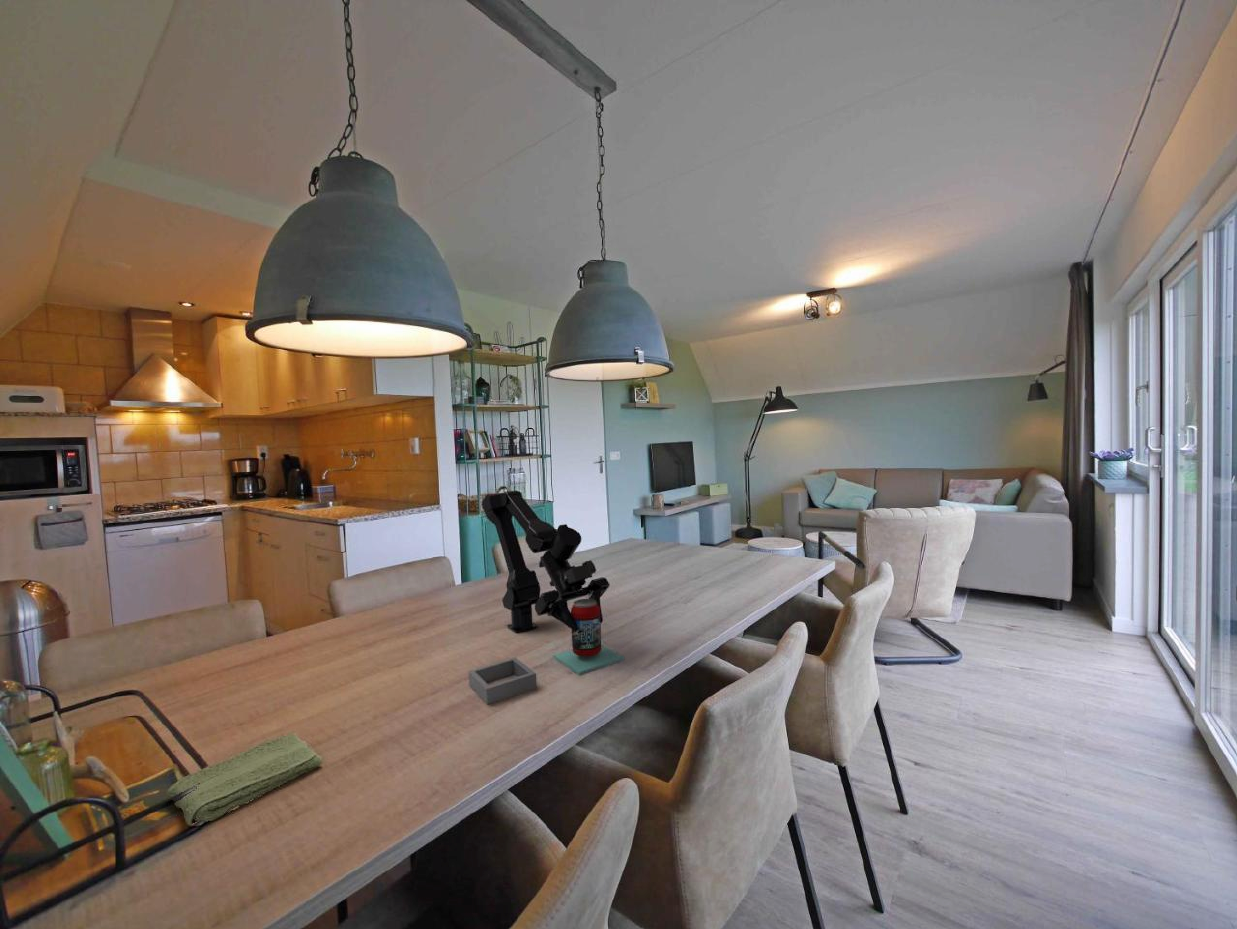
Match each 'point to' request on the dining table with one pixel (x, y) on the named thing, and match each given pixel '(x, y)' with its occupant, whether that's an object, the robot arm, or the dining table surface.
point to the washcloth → (243, 777)
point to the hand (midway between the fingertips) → (589, 626)
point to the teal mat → (588, 660)
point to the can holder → (505, 688)
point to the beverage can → (586, 628)
